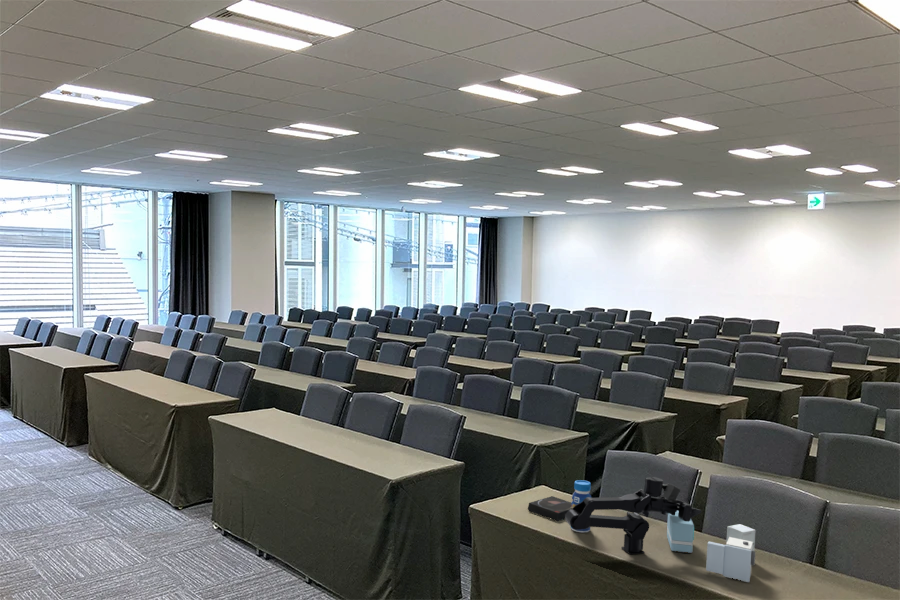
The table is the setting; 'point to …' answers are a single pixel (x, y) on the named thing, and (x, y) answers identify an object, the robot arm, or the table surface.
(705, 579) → the table surface
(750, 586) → the table surface
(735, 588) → the table surface
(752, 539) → the supplement box
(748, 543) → the large white box
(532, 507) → the portable cd player
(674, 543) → the radio
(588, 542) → the table surface
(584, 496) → the beverage bottle
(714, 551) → the camera side door
